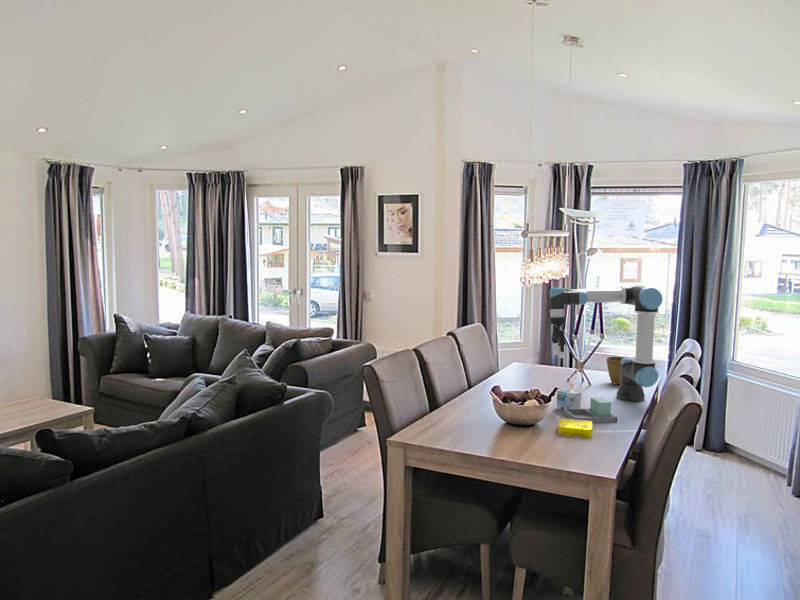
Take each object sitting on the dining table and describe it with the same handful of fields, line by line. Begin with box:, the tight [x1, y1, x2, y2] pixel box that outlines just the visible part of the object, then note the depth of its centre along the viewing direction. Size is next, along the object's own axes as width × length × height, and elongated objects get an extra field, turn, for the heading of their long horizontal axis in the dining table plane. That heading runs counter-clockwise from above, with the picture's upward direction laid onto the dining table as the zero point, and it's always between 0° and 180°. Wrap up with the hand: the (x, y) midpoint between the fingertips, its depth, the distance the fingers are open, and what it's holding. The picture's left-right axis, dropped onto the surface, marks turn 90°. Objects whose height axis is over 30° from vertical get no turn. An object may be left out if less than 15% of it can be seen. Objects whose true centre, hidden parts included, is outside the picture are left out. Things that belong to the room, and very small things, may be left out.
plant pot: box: [606, 356, 625, 385], centre depth 381 cm, size 15×15×16 cm
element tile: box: [557, 418, 594, 438], centre depth 282 cm, size 15×15×5 cm
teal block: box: [589, 396, 612, 417], centre depth 302 cm, size 6×10×9 cm, turn 6°
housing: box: [562, 408, 618, 424], centre depth 302 cm, size 21×16×3 cm
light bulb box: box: [556, 388, 582, 411], centre depth 317 cm, size 11×7×11 cm, turn 45°
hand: (558, 356), depth 324 cm, fingers open, 13 cm apart
